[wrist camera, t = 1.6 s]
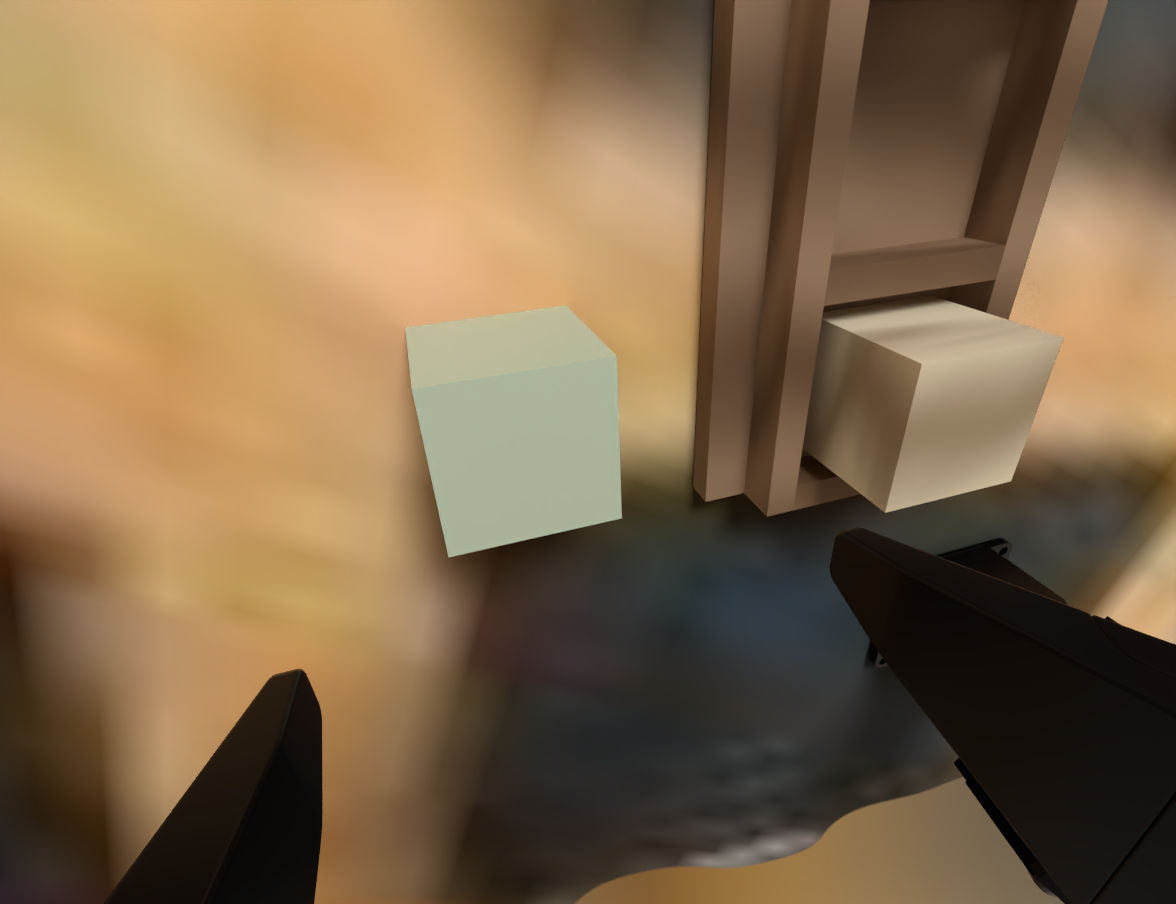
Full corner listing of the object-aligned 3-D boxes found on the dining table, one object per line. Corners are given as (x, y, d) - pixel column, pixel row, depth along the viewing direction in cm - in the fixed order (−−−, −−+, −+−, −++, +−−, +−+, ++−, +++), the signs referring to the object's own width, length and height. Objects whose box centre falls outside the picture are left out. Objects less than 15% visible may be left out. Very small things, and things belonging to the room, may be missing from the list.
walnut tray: (940, 432, 24) (994, 461, 22) (693, 487, 21) (726, 526, 19) (1190, -452, 13) (1345, -563, 11) (739, -550, 10) (828, -717, 8)
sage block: (575, 441, 19) (621, 518, 15) (435, 467, 18) (449, 557, 14) (565, 304, 17) (616, 356, 13) (404, 326, 16) (411, 388, 12)
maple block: (901, 418, 21) (1011, 480, 18) (793, 441, 20) (885, 512, 17) (930, 295, 19) (1063, 337, 15) (810, 314, 18) (921, 364, 14)
